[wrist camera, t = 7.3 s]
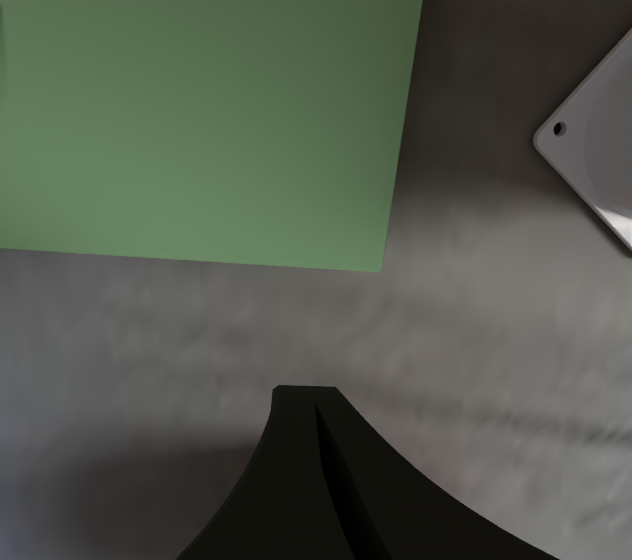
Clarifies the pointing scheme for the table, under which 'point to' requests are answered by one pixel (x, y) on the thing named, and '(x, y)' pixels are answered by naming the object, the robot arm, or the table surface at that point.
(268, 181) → the green
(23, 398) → the table surface
